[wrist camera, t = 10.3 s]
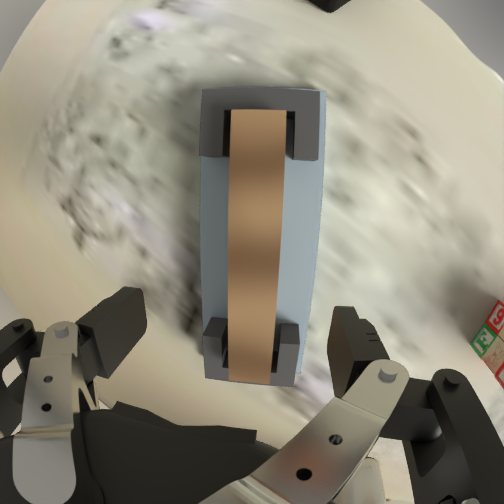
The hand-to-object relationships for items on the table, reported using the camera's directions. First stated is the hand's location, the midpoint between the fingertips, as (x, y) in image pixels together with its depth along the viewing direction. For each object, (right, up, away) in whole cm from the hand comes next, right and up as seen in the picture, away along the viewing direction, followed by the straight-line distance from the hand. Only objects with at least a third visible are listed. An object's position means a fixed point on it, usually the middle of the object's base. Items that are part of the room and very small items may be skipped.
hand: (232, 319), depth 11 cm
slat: (+1, +3, +10) cm, 11 cm away
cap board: (+1, +3, +11) cm, 12 cm away
